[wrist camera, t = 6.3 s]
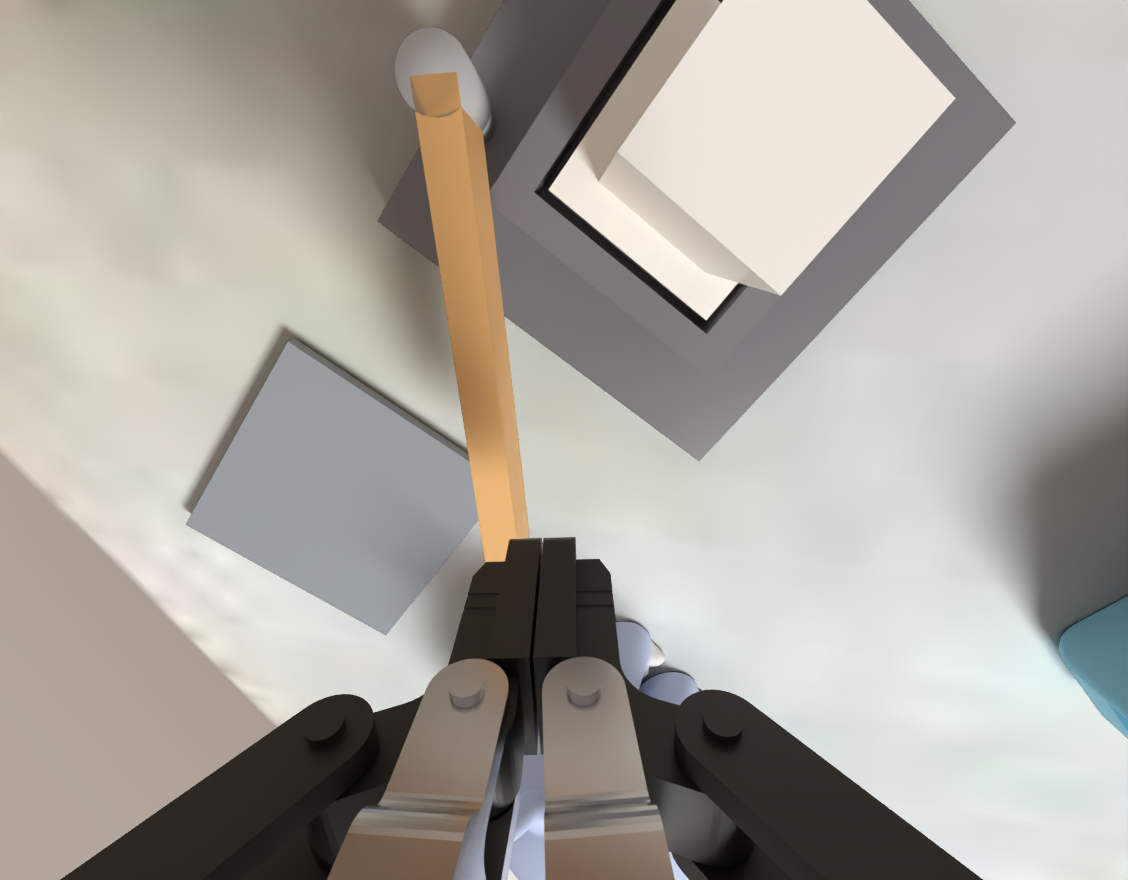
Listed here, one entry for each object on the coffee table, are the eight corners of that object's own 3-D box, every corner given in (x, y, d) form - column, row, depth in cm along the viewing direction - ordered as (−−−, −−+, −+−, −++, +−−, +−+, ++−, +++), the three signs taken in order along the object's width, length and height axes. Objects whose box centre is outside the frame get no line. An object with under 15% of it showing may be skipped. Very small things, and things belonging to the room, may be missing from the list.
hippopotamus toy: (609, 834, 31) (625, 1071, 23) (435, 686, 27) (370, 907, 18) (766, 756, 29) (854, 989, 20) (601, 578, 25) (619, 774, 16)
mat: (295, 338, 20) (288, 341, 20) (506, 479, 23) (505, 485, 22) (194, 517, 23) (185, 524, 23) (389, 626, 26) (386, 635, 25)
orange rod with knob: (486, 66, 13) (465, 23, 11) (537, 531, 18) (532, 585, 16) (425, 72, 13) (387, 30, 11) (492, 534, 19) (479, 587, 16)
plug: (677, 7, 15) (788, -220, 7) (824, 152, 16) (1043, 85, 9) (550, 194, 17) (536, 164, 9) (692, 311, 18) (780, 368, 10)
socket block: (651, -214, 15) (681, -371, 11) (968, 134, 18) (1079, 107, 14) (396, 221, 19) (352, 219, 15) (688, 441, 22) (713, 486, 18)
